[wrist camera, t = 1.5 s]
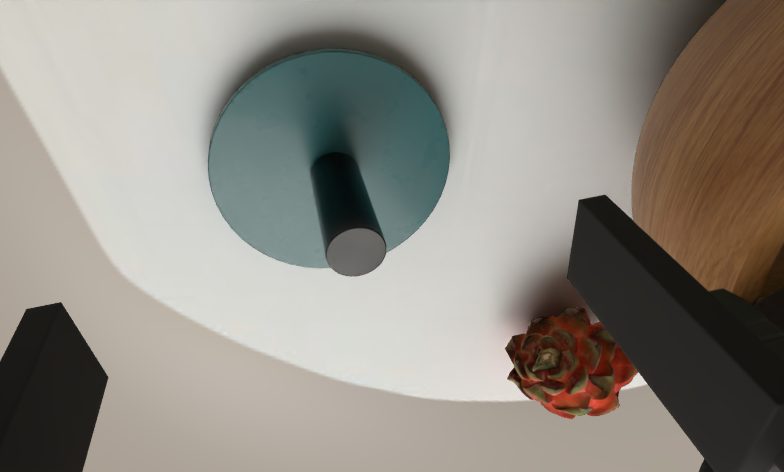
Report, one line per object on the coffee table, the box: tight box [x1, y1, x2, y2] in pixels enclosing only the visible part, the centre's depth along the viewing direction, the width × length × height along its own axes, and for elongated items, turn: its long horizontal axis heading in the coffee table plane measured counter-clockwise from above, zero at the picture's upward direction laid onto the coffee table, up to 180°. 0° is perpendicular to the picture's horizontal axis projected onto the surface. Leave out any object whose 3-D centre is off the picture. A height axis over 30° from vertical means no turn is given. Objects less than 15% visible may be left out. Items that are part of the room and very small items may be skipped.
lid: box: [208, 48, 450, 276], centre depth 27 cm, size 14×14×9 cm
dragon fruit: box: [505, 307, 639, 419], centre depth 41 cm, size 8×8×12 cm
